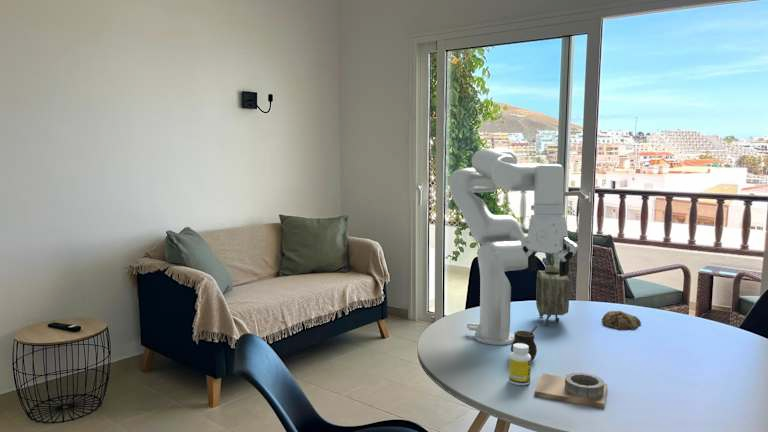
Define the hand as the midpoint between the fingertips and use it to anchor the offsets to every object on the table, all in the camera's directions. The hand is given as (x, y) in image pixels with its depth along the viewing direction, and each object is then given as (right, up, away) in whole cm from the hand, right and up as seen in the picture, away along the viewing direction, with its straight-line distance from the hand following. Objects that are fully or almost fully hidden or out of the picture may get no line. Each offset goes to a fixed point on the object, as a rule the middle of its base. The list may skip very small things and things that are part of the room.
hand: (547, 273), depth 149 cm
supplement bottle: (-9, -28, -5) cm, 30 cm away
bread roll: (+38, -23, +42) cm, 61 cm away
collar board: (+2, -29, -12) cm, 31 cm away
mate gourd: (-4, -26, +10) cm, 29 cm away
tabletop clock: (+15, -22, +45) cm, 53 cm away
